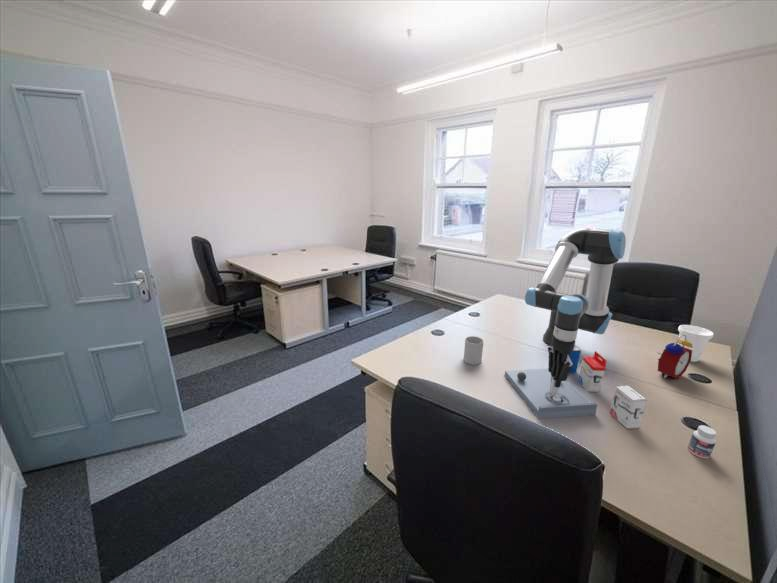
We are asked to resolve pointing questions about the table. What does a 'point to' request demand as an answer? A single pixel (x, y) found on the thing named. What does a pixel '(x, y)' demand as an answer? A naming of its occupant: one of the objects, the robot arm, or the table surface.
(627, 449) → the table surface
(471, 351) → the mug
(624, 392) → the ink box
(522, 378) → the rubber ball
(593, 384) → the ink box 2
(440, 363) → the table surface
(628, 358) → the table surface
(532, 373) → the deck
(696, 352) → the cup
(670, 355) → the alarm clock
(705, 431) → the pill bottle
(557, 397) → the steel ball
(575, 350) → the beverage can
